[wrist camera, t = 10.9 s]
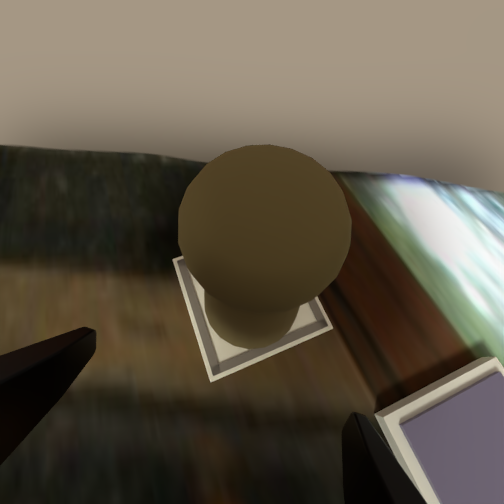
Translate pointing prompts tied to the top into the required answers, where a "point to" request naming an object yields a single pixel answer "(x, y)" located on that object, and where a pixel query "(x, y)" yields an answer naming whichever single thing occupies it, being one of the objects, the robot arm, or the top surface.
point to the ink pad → (452, 435)
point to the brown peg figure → (262, 239)
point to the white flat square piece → (232, 357)
